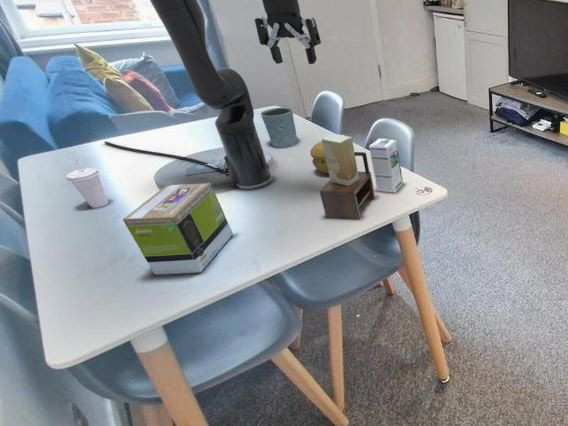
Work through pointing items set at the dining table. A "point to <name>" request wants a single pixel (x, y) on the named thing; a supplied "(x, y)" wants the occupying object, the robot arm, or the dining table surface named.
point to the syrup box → (386, 165)
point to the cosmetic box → (340, 159)
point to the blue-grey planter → (280, 126)
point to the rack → (348, 195)
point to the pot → (319, 157)
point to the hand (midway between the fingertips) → (295, 63)
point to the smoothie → (88, 185)
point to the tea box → (179, 228)
